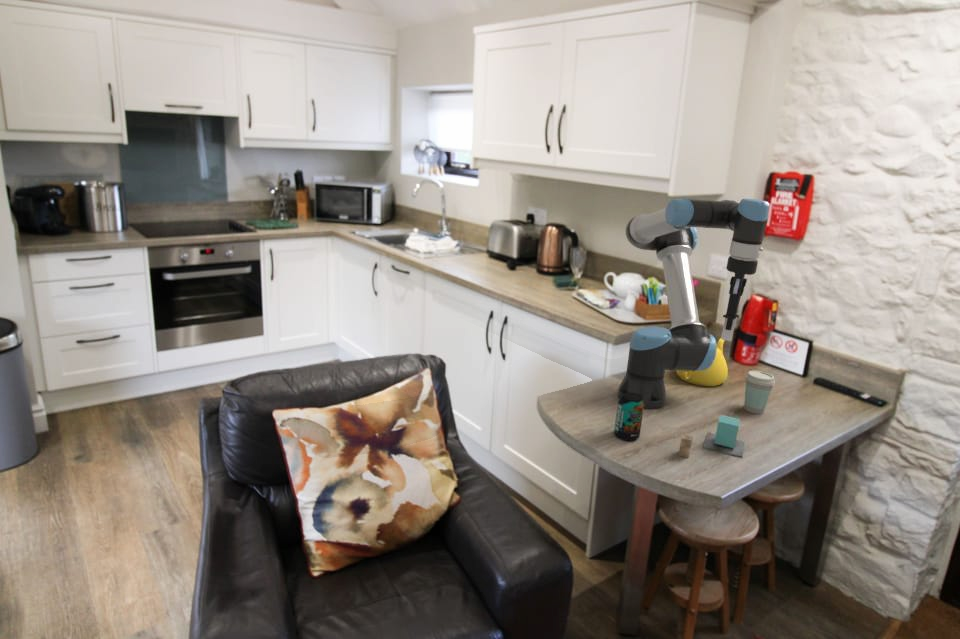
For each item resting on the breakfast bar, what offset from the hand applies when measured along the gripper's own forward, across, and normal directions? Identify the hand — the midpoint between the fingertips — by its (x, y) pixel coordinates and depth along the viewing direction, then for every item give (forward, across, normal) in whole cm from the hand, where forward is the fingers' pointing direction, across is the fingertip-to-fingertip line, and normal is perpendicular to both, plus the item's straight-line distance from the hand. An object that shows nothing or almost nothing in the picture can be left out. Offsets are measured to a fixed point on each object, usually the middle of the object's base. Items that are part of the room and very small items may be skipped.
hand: (726, 339), depth 176 cm
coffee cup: (+28, +22, -11) cm, 37 cm away
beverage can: (+27, -21, +19) cm, 39 cm away
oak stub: (+27, -22, +3) cm, 35 cm away
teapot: (+29, +41, +7) cm, 51 cm away
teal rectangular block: (+26, -10, -6) cm, 28 cm away
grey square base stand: (+27, -10, -6) cm, 29 cm away
